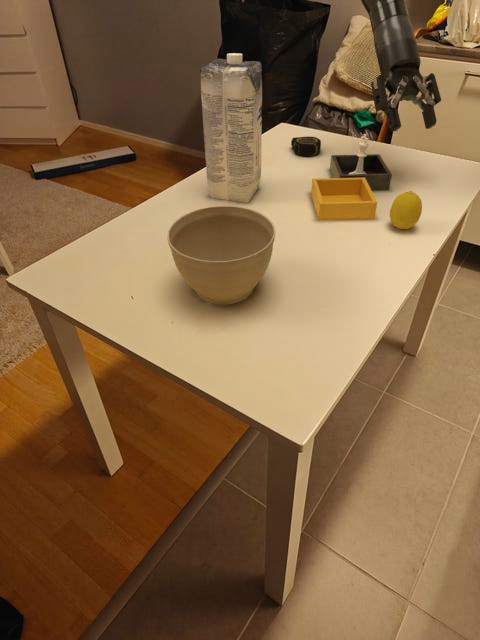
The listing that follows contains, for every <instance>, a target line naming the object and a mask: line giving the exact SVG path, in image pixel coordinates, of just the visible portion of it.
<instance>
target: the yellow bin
mask: <svg viewBox="0 0 480 640" xmlns="http://www.w3.org/2000/svg"><path fill="white" fill-rule="evenodd" d="M310 196H311V200H312V203H313V207H314V210H315V214H316V218H317V220H318V221H344V220H346V221H348V220H375V217H376V213H377V208H378V200H377V198H376V197H375V195H374V193H373V191H371V189H370V187H369V185H368V183H367V181H366V179H365V177H364V178H332V177H331V178H330V177H327V178H325V177H324V178H312V179H311V189H310Z"/></svg>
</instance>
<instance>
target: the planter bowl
mask: <svg viewBox="0 0 480 640" xmlns="http://www.w3.org/2000/svg"><path fill="white" fill-rule="evenodd" d="M166 237H167V242H168V246H169V248H170V251H171V256H172V260H173V261H174V264H175V266H176V269H177V270H178V272H179V274H180V276H181V277H182V278H183V279H184V281H185V282H186V283H187V284H188V285H189V287H191V288H192V289H193V290H194V291H195V292H196V294H197V295H198V297H199V298H200V299H202V300H204V301H205V302H207V303H211V304H215V305H232V304H233V305H234V304H236V303H239V302H243V301H244V300H246V299H247V298H249V297H250V295H252V293H253V291H254V289H255V287H256V286H257V285H258V283H259V282H260V281H261V280H262V278H263V277H264V276H265V273H266V271H267V269H268V267H269V265H270V262H271V260H272V254H273V250H274V242H275V239H276V228H275V225H274V223H273V222H272V220H271V219H270V218H269V217H268V216H266V215H264V214H263V213H261V212H259V211H257V210H255V209H252V208H248V207H245V206H238V205H213V206H211V205H210V206H206V207H202V208H198V209H194V210H192V211H190V212H188V213H185V214H184V215H182V216H180V217H179V218H177V219H176V220H175V221H174V222H173V223H172V224H171V225H170V226H169V228H168V230H167V236H166Z"/></svg>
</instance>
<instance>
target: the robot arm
mask: <svg viewBox="0 0 480 640" xmlns="http://www.w3.org/2000/svg"><path fill="white" fill-rule="evenodd" d="M360 1H361V4H362V5H363V7H364V9H365V10H366V12H367V14H368V16H369V21H370V22H369V23H370V27H371V31H372V35H373V45H374V50H375V55H376V60H377V63H378V67H379V72H380V74H379V75H377V77H376V78H375V79H374V80H372V81H371V83H370V87H371V92H372V98H373V103H374V109H375V111H376V112H380V111H381V112H383V113H384V114H385V116H386V117H385V118H386V120H387V124H388V125H387V126H388V128H389V130H390V131H391V132H397V131H398V130H400V129H401V127H402V123H401V118H400V113H399V110H398V108H396V107H397V105H398V103H399V102H402V101H406V102H410V101H411V103H413V105H417V106H418V107H419V108H420V109H421V110H422V111H421V114H422V119H423V123H424V129H426V130H430V129H432V128H433V127H435V126H436V124H437V116H436V112H435V106H436V105H438V104H439V103H440V102H442V97H441V94H440V90H439V87H438V83H437V79H436V75H435V74H434V73H433V72H431V73H429V74H428V75H425V76H423V75H422V73H421V71H420V69H421V67H420V66H421V63H422V59H421V56H420V51H419V48H418V43H417V40H416V34H415V30H414V27H413V24H412V22H411V19H410V15H409V11H408V6H407V1H406V0H360ZM387 92H388V93H387ZM419 93H420V95H419ZM387 94H388V95H387Z"/></svg>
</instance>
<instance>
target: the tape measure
mask: <svg viewBox="0 0 480 640" xmlns="http://www.w3.org/2000/svg"><path fill="white" fill-rule="evenodd" d="M290 141H291V142H290V145H291V149H292V150H293V153H295V154H296V155H297V156H300V157H314V156H317V155H319V154H320V153H321V148H322V140H321V139H320V138H318V137H316V136H297V137H292V138H291V140H290Z"/></svg>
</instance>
